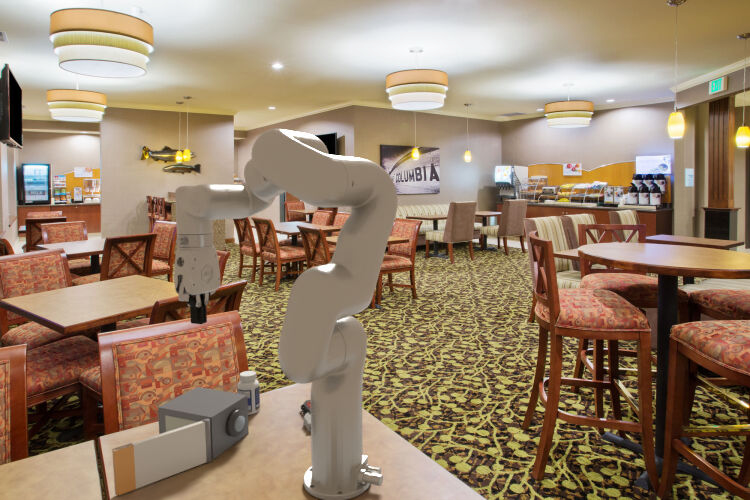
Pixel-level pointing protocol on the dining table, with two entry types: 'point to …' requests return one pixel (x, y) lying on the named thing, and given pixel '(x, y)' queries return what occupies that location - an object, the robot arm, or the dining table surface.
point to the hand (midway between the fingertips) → (198, 322)
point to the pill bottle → (250, 390)
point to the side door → (161, 456)
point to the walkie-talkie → (307, 414)
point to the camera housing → (208, 415)
